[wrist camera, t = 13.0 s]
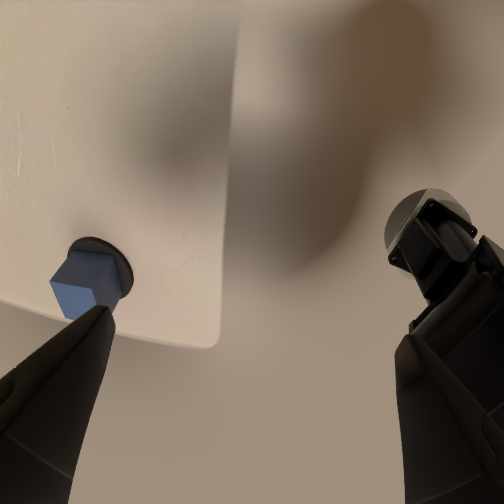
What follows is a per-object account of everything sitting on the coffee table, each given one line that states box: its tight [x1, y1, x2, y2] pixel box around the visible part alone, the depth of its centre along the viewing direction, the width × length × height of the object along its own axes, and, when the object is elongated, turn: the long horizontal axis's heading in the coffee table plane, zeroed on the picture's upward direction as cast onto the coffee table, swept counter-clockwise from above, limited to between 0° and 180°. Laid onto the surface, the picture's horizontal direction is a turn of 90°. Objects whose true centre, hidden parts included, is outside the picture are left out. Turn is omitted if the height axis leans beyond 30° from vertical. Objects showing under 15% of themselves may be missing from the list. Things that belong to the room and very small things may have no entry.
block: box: [50, 251, 123, 320], centre depth 22 cm, size 4×4×4 cm
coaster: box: [67, 237, 133, 299], centre depth 24 cm, size 6×6×1 cm
